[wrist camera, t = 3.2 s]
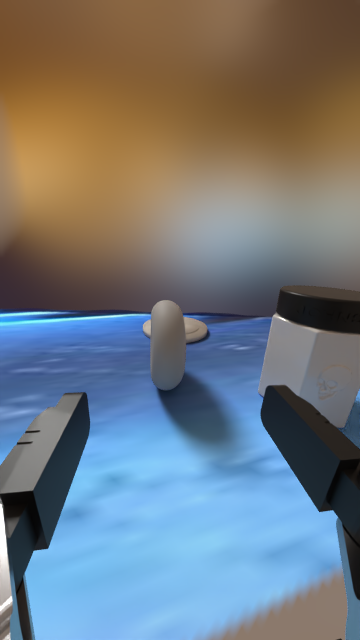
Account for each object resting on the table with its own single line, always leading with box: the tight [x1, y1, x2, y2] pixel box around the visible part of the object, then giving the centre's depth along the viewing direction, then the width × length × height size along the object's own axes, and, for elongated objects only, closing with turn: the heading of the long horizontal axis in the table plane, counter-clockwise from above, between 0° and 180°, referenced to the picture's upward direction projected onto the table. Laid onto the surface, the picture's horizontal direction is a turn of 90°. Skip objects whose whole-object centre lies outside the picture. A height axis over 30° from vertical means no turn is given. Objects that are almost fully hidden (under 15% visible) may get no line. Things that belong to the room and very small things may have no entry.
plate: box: [143, 317, 207, 343], centre depth 40 cm, size 13×13×1 cm
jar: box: [258, 286, 360, 428], centre depth 20 cm, size 9×8×12 cm
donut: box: [151, 300, 186, 390], centre depth 22 cm, size 10×3×10 cm, turn 9°
